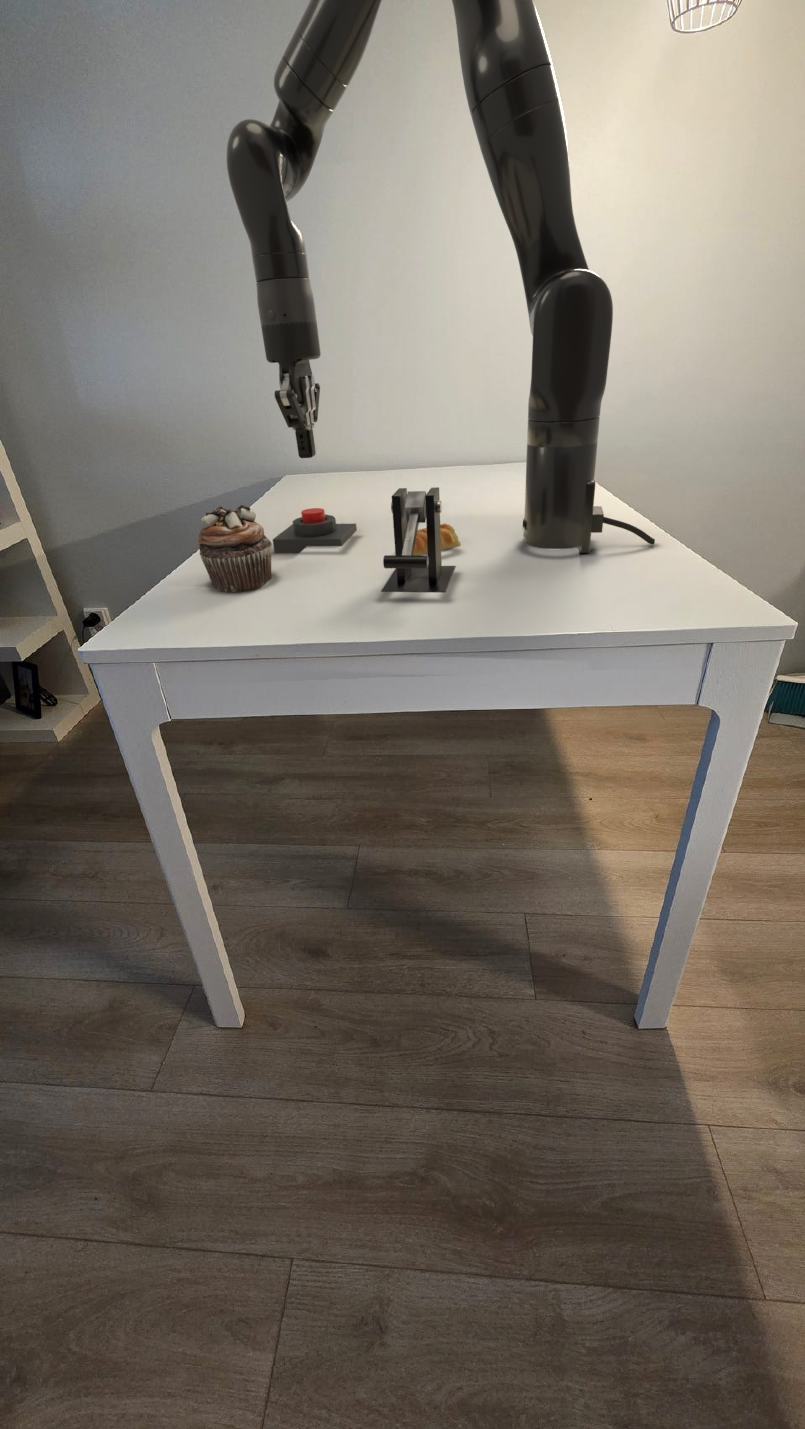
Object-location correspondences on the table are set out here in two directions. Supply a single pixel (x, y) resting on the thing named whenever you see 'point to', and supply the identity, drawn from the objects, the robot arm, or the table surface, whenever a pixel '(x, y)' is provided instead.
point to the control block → (312, 535)
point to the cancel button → (313, 515)
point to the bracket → (435, 574)
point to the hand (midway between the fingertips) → (307, 457)
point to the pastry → (447, 539)
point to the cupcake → (235, 550)
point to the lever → (410, 534)
